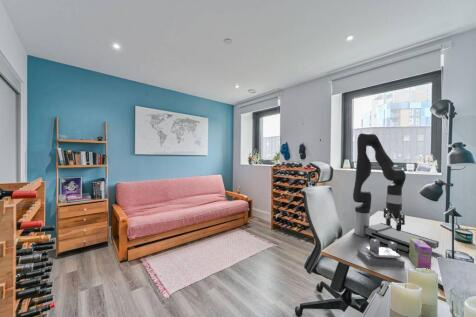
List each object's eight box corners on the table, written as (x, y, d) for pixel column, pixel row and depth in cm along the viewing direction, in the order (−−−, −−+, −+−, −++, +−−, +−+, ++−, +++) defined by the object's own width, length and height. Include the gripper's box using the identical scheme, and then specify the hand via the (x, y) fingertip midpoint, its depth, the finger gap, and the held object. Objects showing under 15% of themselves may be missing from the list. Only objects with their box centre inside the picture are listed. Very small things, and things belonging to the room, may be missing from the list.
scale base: (357, 254, 118) (357, 248, 118) (388, 255, 117) (388, 249, 117) (369, 265, 106) (369, 259, 106) (404, 267, 105) (404, 260, 105)
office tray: (422, 260, 113) (423, 246, 112) (365, 238, 141) (365, 227, 141) (438, 252, 122) (438, 239, 122) (381, 233, 151) (381, 222, 150)
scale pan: (365, 248, 117) (366, 246, 117) (388, 249, 116) (388, 247, 116) (375, 256, 108) (375, 254, 108) (400, 257, 107) (400, 255, 107)
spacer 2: (386, 250, 124) (386, 241, 123) (393, 250, 123) (393, 241, 123) (391, 254, 119) (391, 244, 119) (398, 254, 119) (399, 244, 119)
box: (431, 270, 103) (432, 247, 103) (417, 267, 105) (418, 245, 105) (421, 260, 113) (422, 239, 112) (408, 258, 115) (409, 238, 114)
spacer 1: (368, 248, 114) (368, 238, 114) (375, 249, 114) (376, 238, 114) (372, 252, 110) (373, 242, 110) (380, 252, 110) (381, 242, 109)
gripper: (379, 199, 128) (379, 224, 128) (396, 204, 113) (395, 232, 114) (392, 199, 127) (391, 224, 128) (409, 205, 113) (409, 233, 113)
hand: (393, 228), depth 121 cm, fingers open, 8 cm apart
